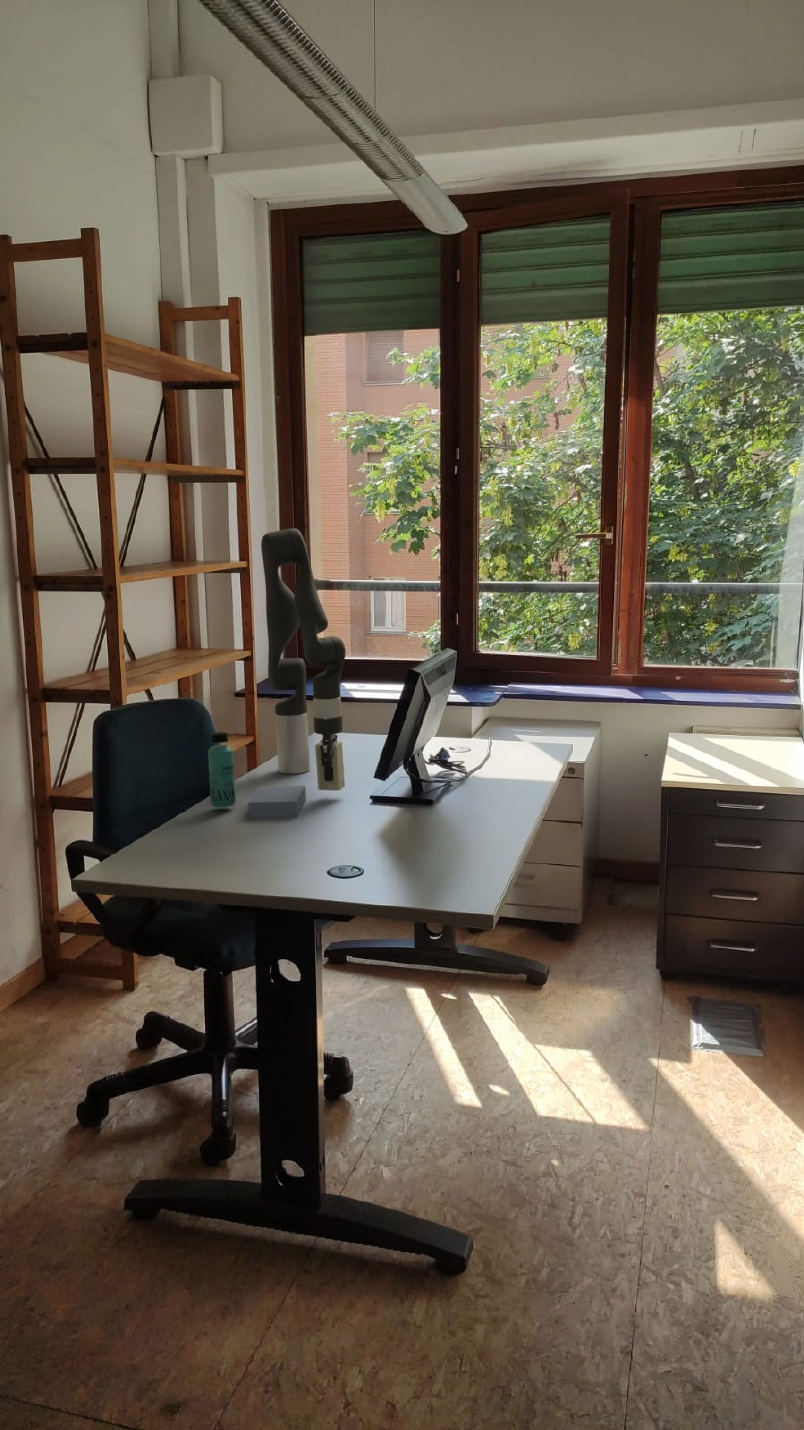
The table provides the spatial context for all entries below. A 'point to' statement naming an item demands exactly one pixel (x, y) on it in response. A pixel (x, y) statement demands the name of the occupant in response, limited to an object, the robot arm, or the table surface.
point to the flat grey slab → (277, 802)
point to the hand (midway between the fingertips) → (330, 777)
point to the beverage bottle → (221, 772)
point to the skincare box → (337, 769)
